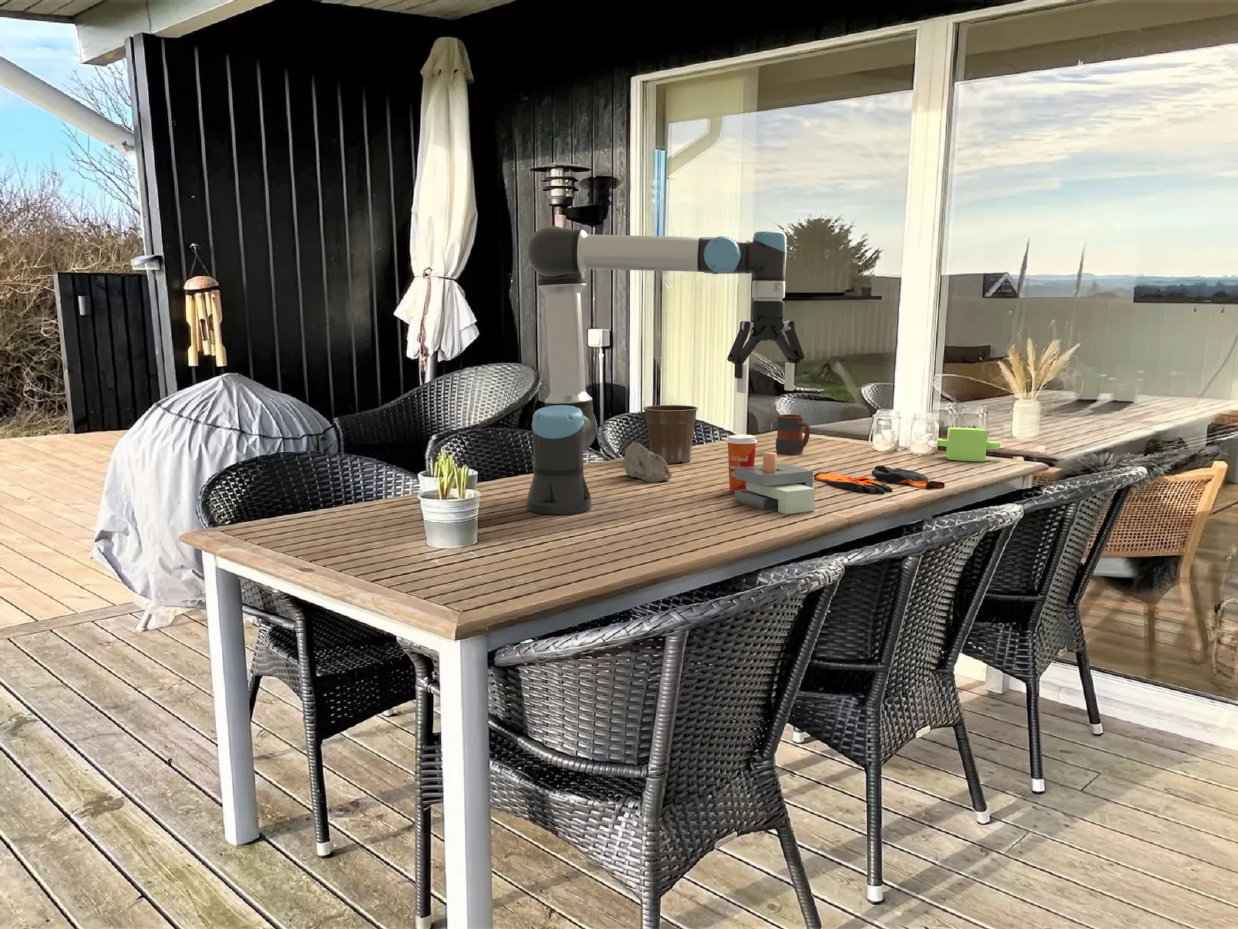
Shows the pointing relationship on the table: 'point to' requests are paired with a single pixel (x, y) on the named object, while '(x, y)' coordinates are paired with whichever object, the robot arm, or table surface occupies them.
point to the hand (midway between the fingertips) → (765, 391)
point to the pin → (769, 461)
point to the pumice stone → (645, 464)
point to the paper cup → (740, 457)
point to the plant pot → (671, 431)
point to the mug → (791, 434)
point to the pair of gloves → (880, 474)
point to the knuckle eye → (788, 496)
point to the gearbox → (967, 444)
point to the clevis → (769, 483)
